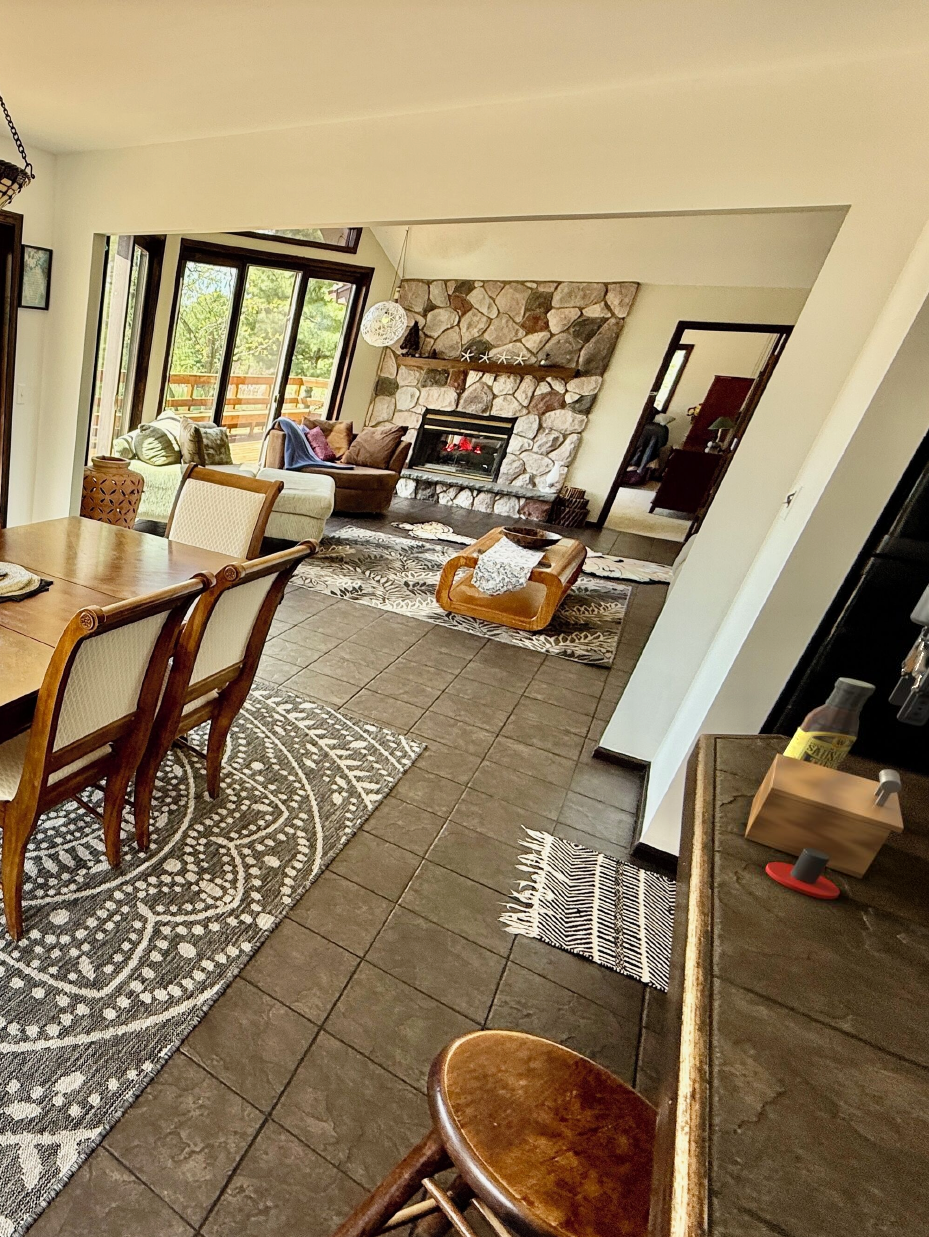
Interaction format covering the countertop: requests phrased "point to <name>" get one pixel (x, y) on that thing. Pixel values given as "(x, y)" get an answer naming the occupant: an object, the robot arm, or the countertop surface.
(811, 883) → the pan lid
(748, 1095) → the countertop surface
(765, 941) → the countertop surface
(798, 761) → the chest lid
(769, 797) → the chest
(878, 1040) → the countertop surface
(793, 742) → the sauce bottle
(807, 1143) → the countertop surface
